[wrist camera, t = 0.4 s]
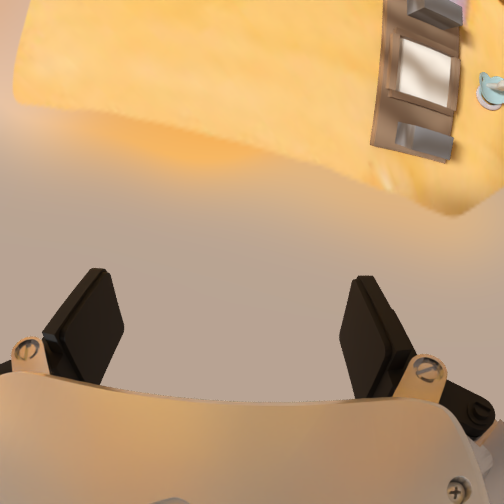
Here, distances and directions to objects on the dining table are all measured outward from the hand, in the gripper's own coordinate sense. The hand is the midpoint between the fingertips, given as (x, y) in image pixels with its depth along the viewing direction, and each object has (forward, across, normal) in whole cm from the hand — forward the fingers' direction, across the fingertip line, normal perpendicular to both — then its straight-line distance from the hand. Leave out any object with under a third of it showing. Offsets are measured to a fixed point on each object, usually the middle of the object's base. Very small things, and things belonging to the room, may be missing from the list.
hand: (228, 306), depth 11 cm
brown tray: (+30, -23, -15) cm, 41 cm away
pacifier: (+31, -37, -16) cm, 50 cm away
